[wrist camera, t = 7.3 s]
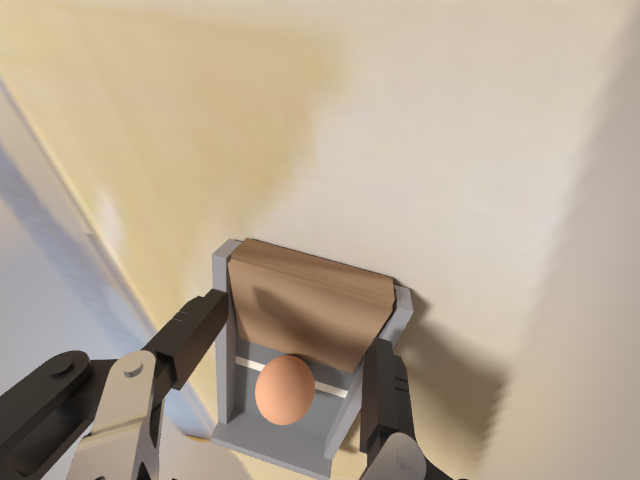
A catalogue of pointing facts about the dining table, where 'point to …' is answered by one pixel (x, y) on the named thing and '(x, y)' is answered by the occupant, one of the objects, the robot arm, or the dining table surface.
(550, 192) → the dining table surface
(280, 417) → the ball
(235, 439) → the lane
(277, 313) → the ramp
